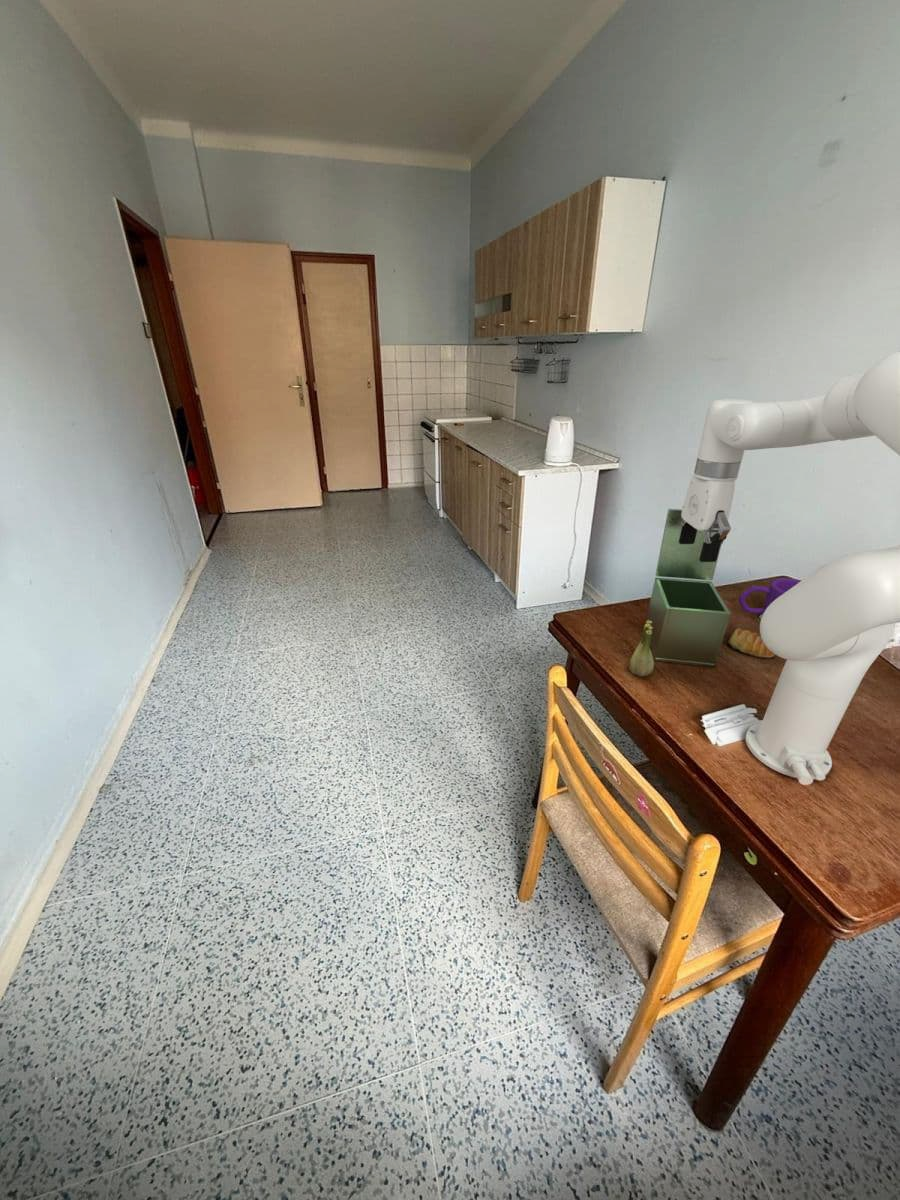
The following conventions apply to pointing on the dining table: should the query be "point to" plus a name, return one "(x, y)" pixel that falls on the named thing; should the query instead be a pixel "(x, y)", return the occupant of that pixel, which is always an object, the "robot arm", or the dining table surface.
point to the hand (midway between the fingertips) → (696, 552)
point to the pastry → (749, 643)
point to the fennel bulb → (643, 654)
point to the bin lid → (682, 552)
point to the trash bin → (686, 621)
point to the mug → (768, 593)
